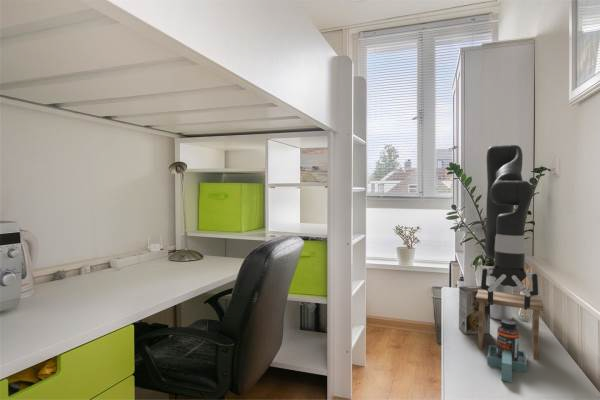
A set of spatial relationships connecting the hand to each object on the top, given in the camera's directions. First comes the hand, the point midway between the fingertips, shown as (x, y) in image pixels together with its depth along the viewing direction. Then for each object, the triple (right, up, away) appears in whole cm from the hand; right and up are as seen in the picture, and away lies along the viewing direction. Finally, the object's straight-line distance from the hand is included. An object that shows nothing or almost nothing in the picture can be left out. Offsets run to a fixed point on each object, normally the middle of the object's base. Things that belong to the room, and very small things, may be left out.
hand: (508, 306), depth 109 cm
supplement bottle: (+4, -18, +8) cm, 21 cm away
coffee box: (+5, -19, +33) cm, 38 cm away
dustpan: (+2, -19, +5) cm, 20 cm away
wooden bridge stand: (+10, -19, +19) cm, 28 cm away
